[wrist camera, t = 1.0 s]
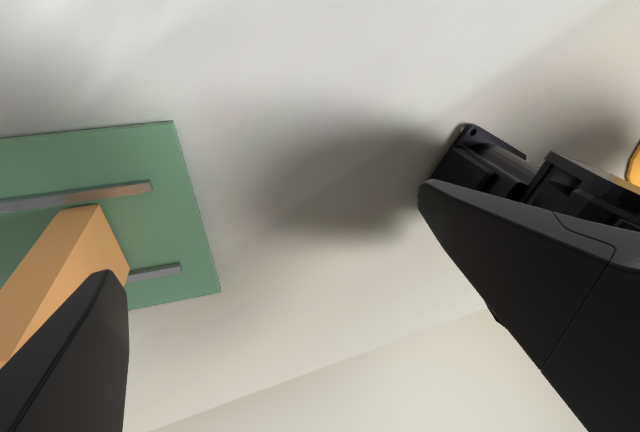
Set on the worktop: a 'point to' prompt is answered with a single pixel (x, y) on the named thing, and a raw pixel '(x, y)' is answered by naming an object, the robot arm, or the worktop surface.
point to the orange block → (56, 272)
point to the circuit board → (113, 203)
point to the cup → (634, 168)
